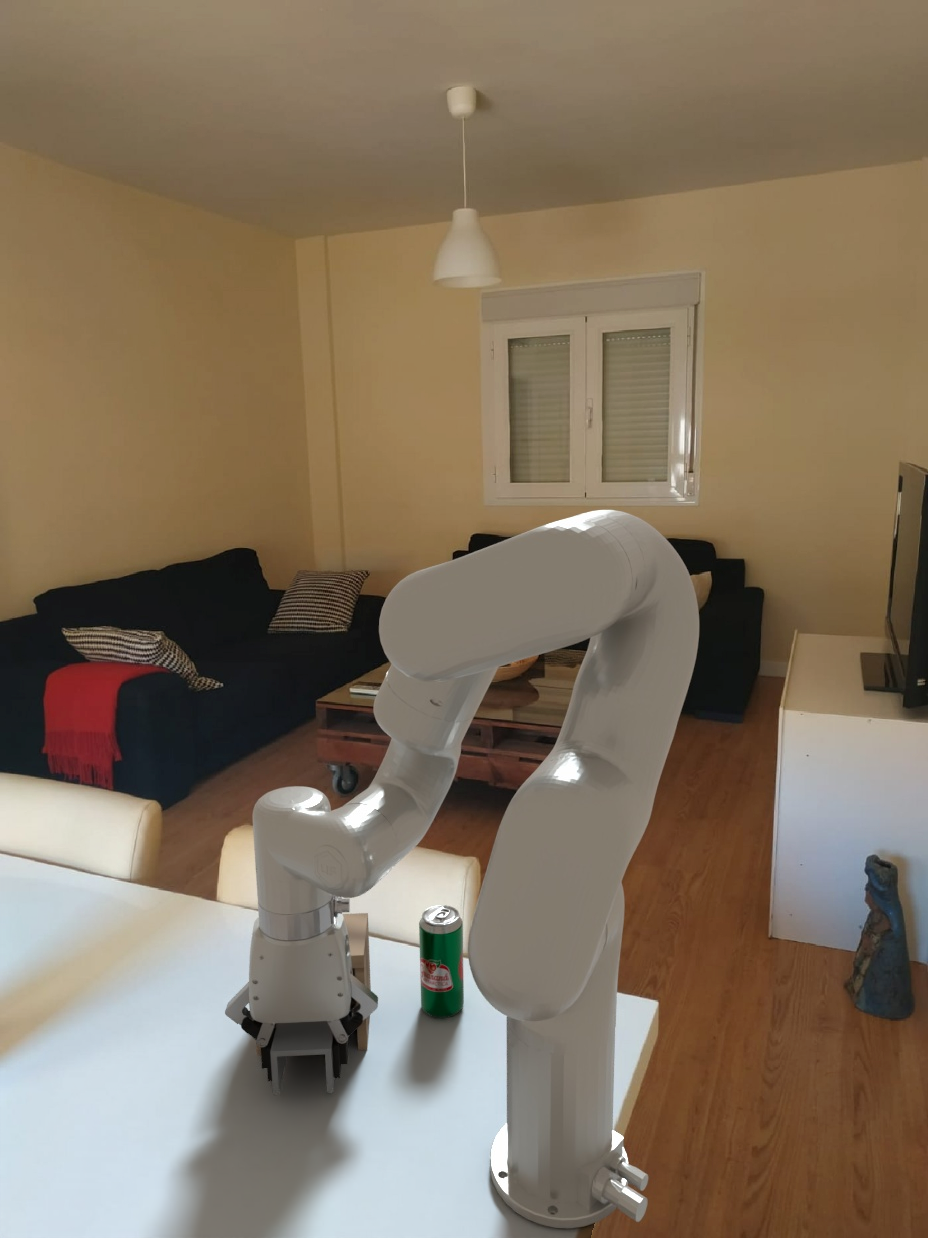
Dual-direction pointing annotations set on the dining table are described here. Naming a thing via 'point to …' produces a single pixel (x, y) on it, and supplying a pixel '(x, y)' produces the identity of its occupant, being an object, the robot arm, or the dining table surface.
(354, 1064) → the dining table surface
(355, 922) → the shelf
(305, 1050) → the grey u-shaped piece
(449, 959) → the soda can
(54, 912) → the dining table surface
